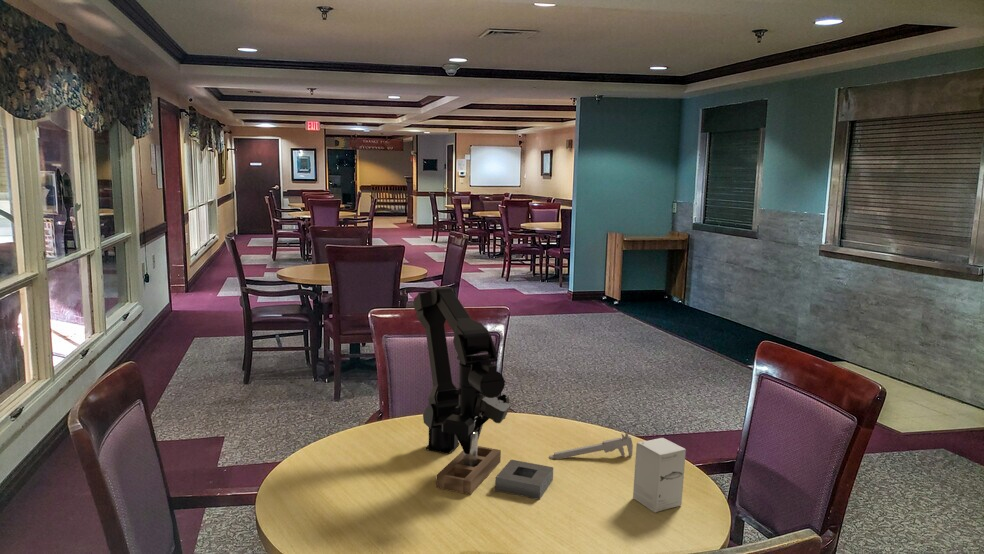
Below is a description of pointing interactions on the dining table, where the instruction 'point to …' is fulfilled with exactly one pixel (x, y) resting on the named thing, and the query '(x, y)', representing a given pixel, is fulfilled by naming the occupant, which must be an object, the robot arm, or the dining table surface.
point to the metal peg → (472, 452)
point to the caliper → (599, 448)
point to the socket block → (524, 479)
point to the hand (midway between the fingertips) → (470, 450)
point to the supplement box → (659, 474)
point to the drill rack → (468, 471)
